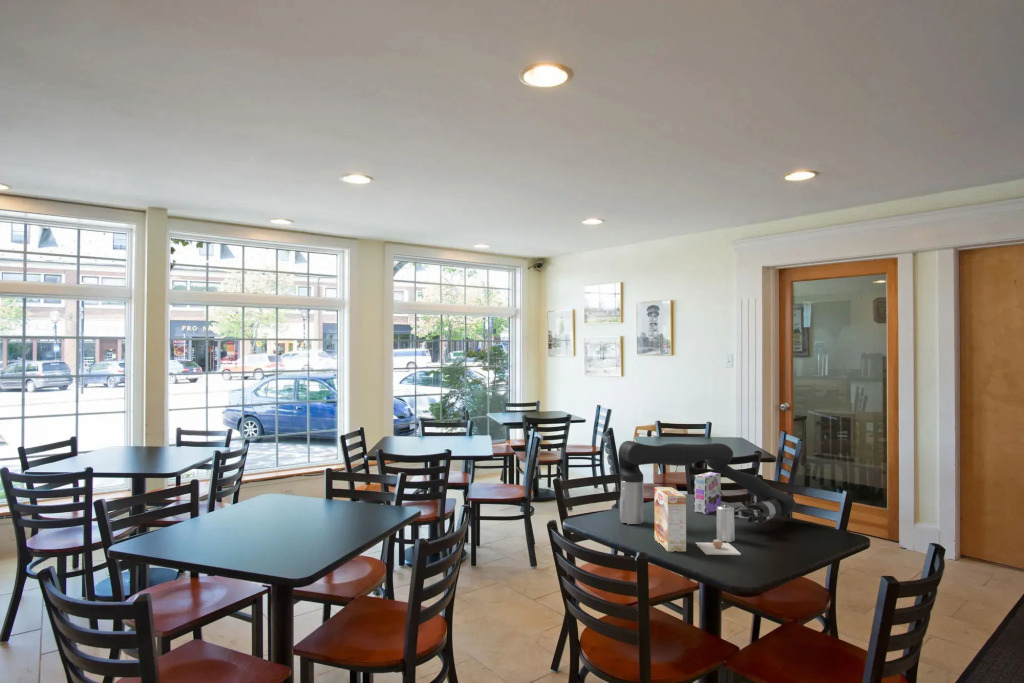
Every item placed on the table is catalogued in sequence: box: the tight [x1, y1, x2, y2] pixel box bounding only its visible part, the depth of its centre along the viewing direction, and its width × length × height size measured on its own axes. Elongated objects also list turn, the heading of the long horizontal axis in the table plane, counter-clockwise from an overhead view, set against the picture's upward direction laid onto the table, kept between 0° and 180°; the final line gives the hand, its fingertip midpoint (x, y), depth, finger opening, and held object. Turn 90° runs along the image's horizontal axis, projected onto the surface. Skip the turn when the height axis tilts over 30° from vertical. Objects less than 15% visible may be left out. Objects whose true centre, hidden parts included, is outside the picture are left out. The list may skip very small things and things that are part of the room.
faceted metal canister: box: [716, 504, 736, 543], centre depth 221 cm, size 6×6×13 cm
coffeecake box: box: [653, 486, 687, 553], centre depth 213 cm, size 15×7×20 cm, turn 4°
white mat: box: [695, 541, 742, 556], centre depth 209 cm, size 12×12×1 cm
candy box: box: [693, 471, 722, 515], centre depth 264 cm, size 14×6×16 cm, turn 132°
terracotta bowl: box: [712, 538, 723, 549], centre depth 209 cm, size 3×3×3 cm
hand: (738, 517), depth 226 cm, fingers open, 8 cm apart
